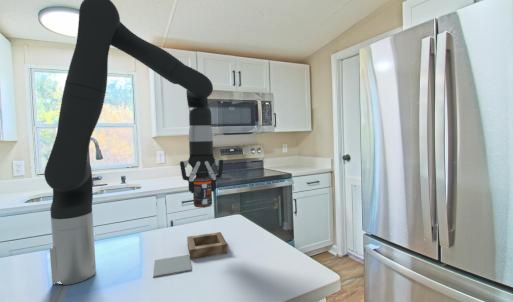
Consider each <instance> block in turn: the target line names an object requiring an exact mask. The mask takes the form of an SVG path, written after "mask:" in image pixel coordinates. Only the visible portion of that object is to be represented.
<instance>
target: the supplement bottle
mask: <svg viewBox="0 0 513 302" xmlns="http://www.w3.org/2000/svg"><path fill="white" fill-rule="evenodd" d="M193 187H194V193H192V194H193V200H192V201H193V206H194V207H196V208H199V209H200V208H201V209H202V208H207V207H208V208H209V207H211V206H212V205H213V193H212V179H211V176H210V174H209V173H208V171H205V172H204V171H201V172H196V174H195V177H194V178H193Z"/></svg>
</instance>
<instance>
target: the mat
mask: <svg viewBox="0 0 513 302" xmlns="http://www.w3.org/2000/svg"><path fill="white" fill-rule="evenodd" d="M191 263H192V262H191V260H190V255H189V254H183V255H179V256H178V255H177V256H172V257H165V258H159V259H155V260H154V264H153V275H152V278H153V279H154V278H158V277H163V276H169V275H175V274H181V273H187V272H191V271H192V270H193V268H192V264H191Z"/></svg>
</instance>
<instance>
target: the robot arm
mask: <svg viewBox="0 0 513 302" xmlns="http://www.w3.org/2000/svg"><path fill="white" fill-rule="evenodd" d="M76 35H77V36H76V42H75V43H76V44H75V47H74V51H73V54H72V57H71V60H70V64H69V68H68V70H67V75H66V79H65V83H64V88H63V93H62V95H61V96H62V97H61V102H60V103H61V104H60V108H59V115H58V123H57V124H58V125H57V130H56V135H55V139H54V142H53V145H52V148H51V151H50V154H49V157H48V158H47V159H48V160H47V161H46V165H45V167H44V179H45V182H46V183H47V185H48V186H49V187H50V188H51V189H52V201H51V206H50V223H51V237H52V246H51V247H50V248H49V259H50V270H51V274H50V275H51V285H52V284H54V283H57V282H59V281H60V282H61V283H62V284H63V285H62V286H65V285H66V286H68V285H73V284H74V285H75V284H78V283H80V282H81V283H82V282H83V281H86V280H89V279H90V278H91V277H93V276H94V275H95V274H96V271H97V263H96V249H95V234H94V218H93V199H94V198H93V197H94V195H93V192H94V191H93V175H92V172H93V171H92V168H91V167H92V166H91V164H90V162H89V161H88V154H89V146H90V141H91V138H92V136H93V134H94V131H95V128H96V126H97V124H98V121H99V120H100V118H101V117H100V116H101V114H102V110H103V108H104V102H105V98H106V92H107V86H108V68H109V66H108V61H109V60H108V59H109V53H110V48H111V46H112V47H113V48H116V49H117V50H120V51H122V52H123V53H125V54H127V55H129V56H131V57H132V58H134V59H135V60H137V61H138V62H140V64H141V63H142V64H143V65H145V66H146V67H148V68H149V69H150V70H151V71H153V72H155V73H156V74H157V75H159V76H160V77H162V78H163V79H165V80H167V81H168V82H169V83H171V84H174V85H179V86H180V87H182V88H184V89H185V90H186V93H185V94H186V101H187V106H188V124H189V129H188V146H189V147H188V148H189V149H188V150H189V158H188V159H187V160H180V161H179V168H180V172H181V176H182V180H184V181H187V182H188V191H189V192H190V194H193V193H194V187H193V179H194V178H195V177H196V172H201V171H204V172H205V171H208V174H209V177H210V178H211V180H212V192H215V191H216V189H217V179H219V178H222V176H223V168H224V167H223V166H224V160H223V159H221V158H219V159H217V158H215V157H214V135H213V127H212V111H211V109H210V108H209V101H208V98H209V97H210V96H211V95H212V93H213V90H214V86H213V83H212V81H211V79H210V78H208V76H206V75H205V74H203V73H202V72H200V71H198V70H196V69H195V68H193V67H192V66H188V65H186V64H184V63H183V61H181V60H179V59H178V58H176V57H175V56H173V54H171V53H169V52H168V51H166V50H165V49H163V48H161V47H159V46H157V44H156V45H155V44H153V43H151V42H149V41H147V40H145V39H143V38H141V37H140V36H138V35H137V34H135V33H134V32H132V31H131V30H130V29H129V28H127V26H125V25H124V24H123V23H122V22H121V17H120V14H119V11H118V9H117V7H116V5H115V4H114V3H113V1H112V0H82V2H81V4H80V6H79V12H78V27H77V34H76ZM214 164H215V165H216V166H217V169H216V174H215V172H214V170H213V169H212V167H213V165H214ZM188 165H189V166H191V168H192V169H191V171H190V174H189V176H188V175H187V171H186V168H187V167H188ZM54 285H55V284H54Z"/></svg>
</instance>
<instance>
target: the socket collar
mask: <svg viewBox="0 0 513 302" xmlns="http://www.w3.org/2000/svg"><path fill="white" fill-rule="evenodd" d="M186 239H187V241H186V243H187V250H188V255H189V258H190V261H191V260H197V259H202V258H207V257H208V258H209V257H213V256H214V257H215V256H219V255H226V254H229V253H228V252H229V251H228V249H229V248H228V242H227V241H226V239H225V237H224V235H223V234H222V232H221V231H219V232H212V233H205V234H204V233H203V234H198V235H197V234H196V235H191V236H190V235H189V236H187V237H186Z"/></svg>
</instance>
